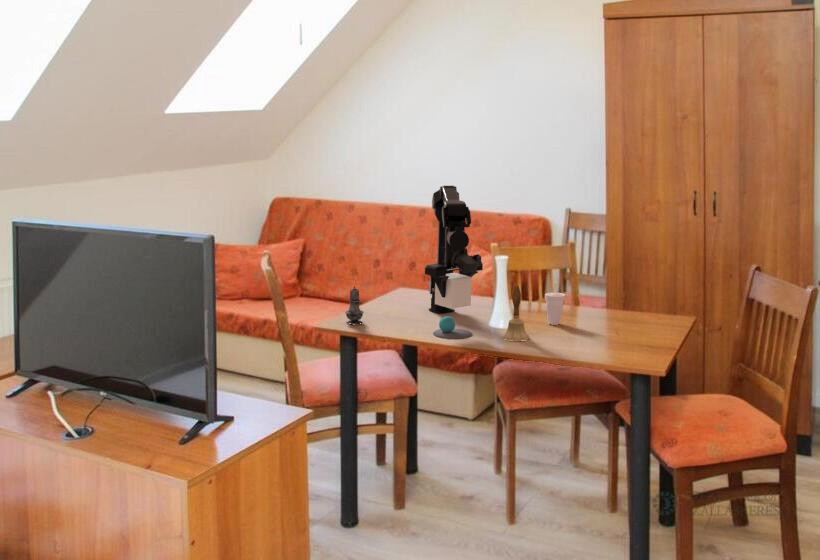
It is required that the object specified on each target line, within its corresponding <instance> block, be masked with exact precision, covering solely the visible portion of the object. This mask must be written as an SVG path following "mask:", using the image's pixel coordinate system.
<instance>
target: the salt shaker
mask: <svg viewBox="0 0 820 560" xmlns="http://www.w3.org/2000/svg"><path fill="white" fill-rule="evenodd" d="M348 301H349V308H348V310H346V311H344V313H345V316H346V318H347V319H348V323H351V324H360V323H361V324H360V325H363V324H362V323H363V321H362V320H361V319H362V318H363V314H365V312H364V311H363V310H361V307H360V301H361V299H360V290H359V289H358V288H356V286H355V285H354V286H353V288H352V289H350V291H349V300H348Z"/></svg>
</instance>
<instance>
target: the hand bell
mask: <svg viewBox="0 0 820 560" xmlns="http://www.w3.org/2000/svg"><path fill="white" fill-rule="evenodd" d="M513 287H514V288H513V291H512V294H511V298H512V305H513V314H512V315H513V318H512V319H509V320H508V325H507V329H506V331H505V333H504V334H502V336H501V338H503V339H502V340H504V339H507V340H513V341H521V340H527V339H529V338H530V335H529V334H528V333H527V332H526V329H525V324H524V322H525V321H524V320H523V319H521V318H520V306H521V305H520V304H521V301H522V294H521V290H520V286H519V285H514V286H513ZM507 340H506V341H507ZM529 340H530V339H529ZM513 341H512V342H513ZM527 341H528V340H527Z"/></svg>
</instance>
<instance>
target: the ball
mask: <svg viewBox="0 0 820 560" xmlns="http://www.w3.org/2000/svg"><path fill="white" fill-rule="evenodd" d="M438 323H439V324H438V327H439V329H441V330H442V331H443V332H446V333H448V332H451V331H453V330H454V328H455V329H456V320H455V319H454V318H453V317H452V316H450V315H449V316H448V315H446V316H442V317H441V318H440V319H439V322H438Z"/></svg>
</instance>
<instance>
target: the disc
mask: <svg viewBox="0 0 820 560" xmlns="http://www.w3.org/2000/svg"><path fill="white" fill-rule="evenodd" d="M432 334H433V336H435V337H437V338H441V339H445V338H446V339H447V340H464V339H468V338H470V337H473V335H474V333H473V332H472V331H471V330H468V329H464V328H456V327H455V328H454V330H453V331H451V332H448V333H446V332H443V331H442V330H441V329H440V328H439V329H437V330H435V331H433V333H432Z"/></svg>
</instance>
